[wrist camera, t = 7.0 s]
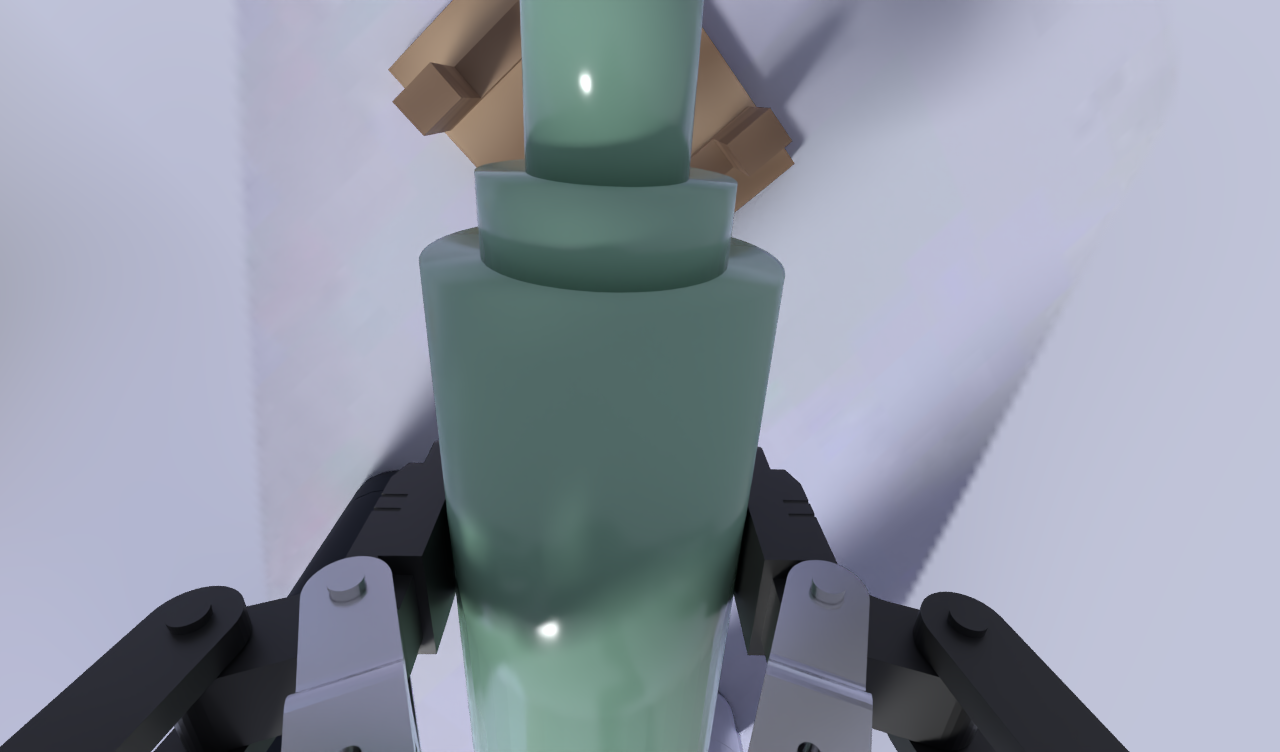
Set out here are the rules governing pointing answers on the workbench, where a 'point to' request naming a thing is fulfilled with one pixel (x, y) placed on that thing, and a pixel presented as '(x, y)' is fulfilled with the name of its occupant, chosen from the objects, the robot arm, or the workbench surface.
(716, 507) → the green bottle
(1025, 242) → the workbench surface
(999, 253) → the workbench surface
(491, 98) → the u rest
